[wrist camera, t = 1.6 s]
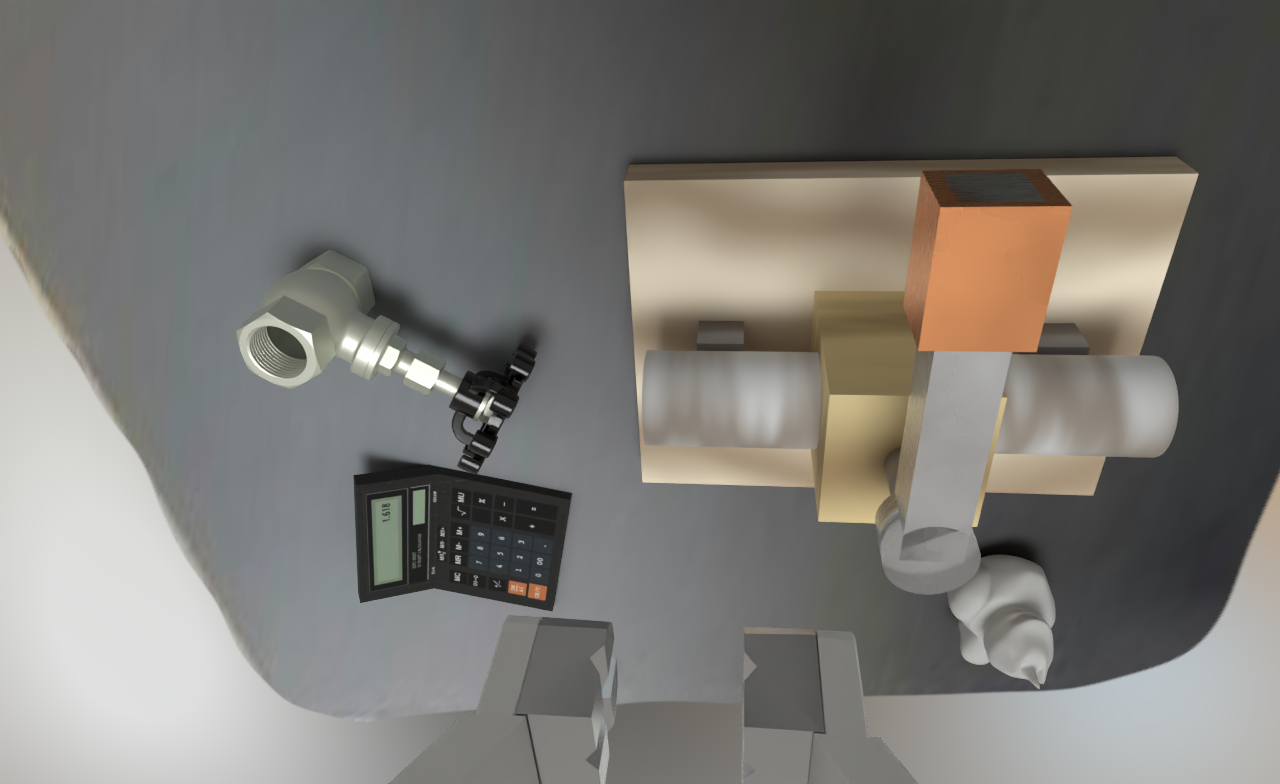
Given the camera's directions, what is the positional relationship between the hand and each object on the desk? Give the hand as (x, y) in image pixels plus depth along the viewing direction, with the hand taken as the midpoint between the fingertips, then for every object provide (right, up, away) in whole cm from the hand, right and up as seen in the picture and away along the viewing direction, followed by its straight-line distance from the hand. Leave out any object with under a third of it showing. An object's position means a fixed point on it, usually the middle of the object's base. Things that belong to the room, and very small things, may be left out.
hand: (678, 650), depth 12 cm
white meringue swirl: (+19, -7, +35) cm, 41 cm away
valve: (-12, +7, +30) cm, 33 cm away
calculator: (-11, -4, +38) cm, 40 cm away
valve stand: (+10, +7, +27) cm, 30 cm away
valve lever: (+9, +4, +14) cm, 17 cm away
